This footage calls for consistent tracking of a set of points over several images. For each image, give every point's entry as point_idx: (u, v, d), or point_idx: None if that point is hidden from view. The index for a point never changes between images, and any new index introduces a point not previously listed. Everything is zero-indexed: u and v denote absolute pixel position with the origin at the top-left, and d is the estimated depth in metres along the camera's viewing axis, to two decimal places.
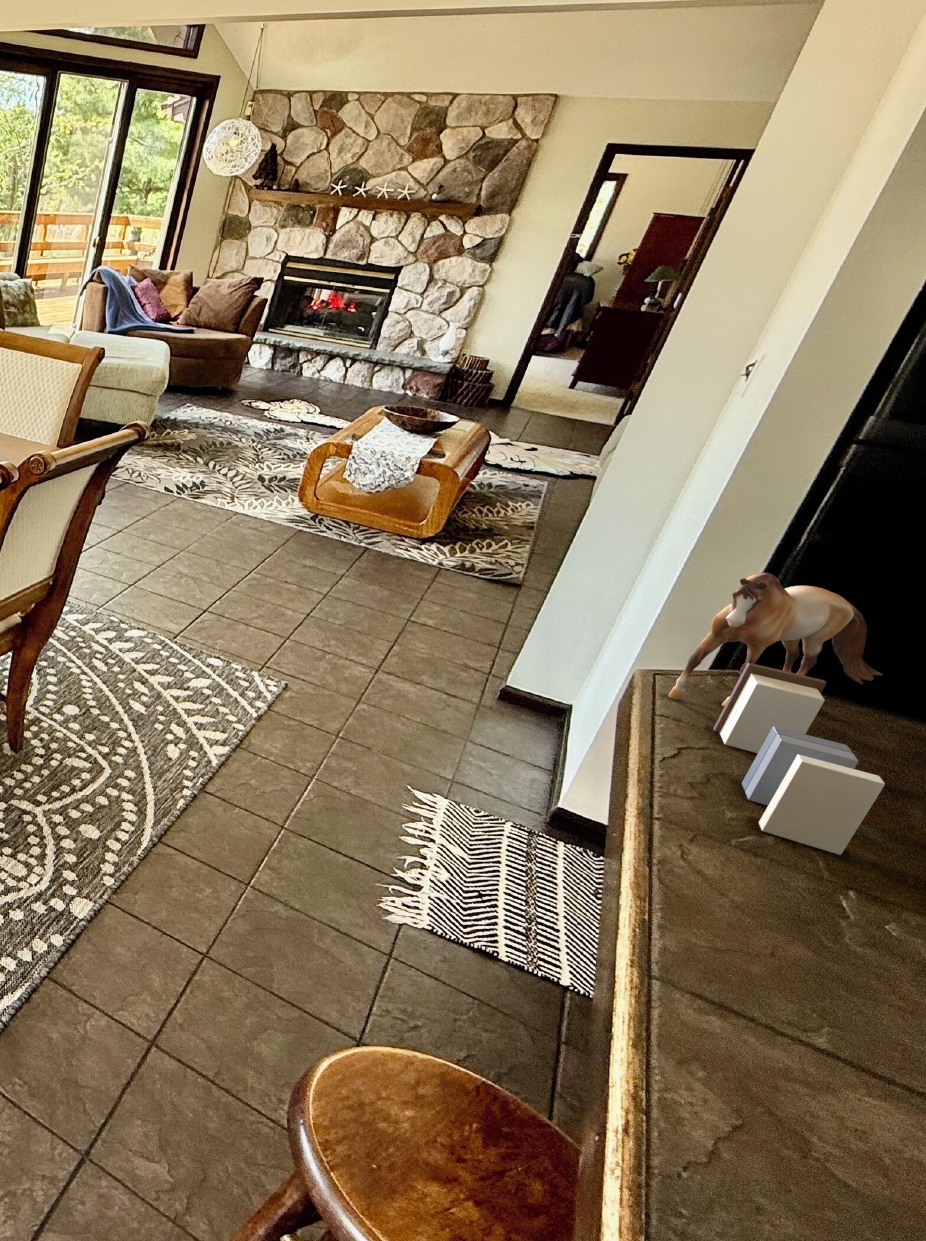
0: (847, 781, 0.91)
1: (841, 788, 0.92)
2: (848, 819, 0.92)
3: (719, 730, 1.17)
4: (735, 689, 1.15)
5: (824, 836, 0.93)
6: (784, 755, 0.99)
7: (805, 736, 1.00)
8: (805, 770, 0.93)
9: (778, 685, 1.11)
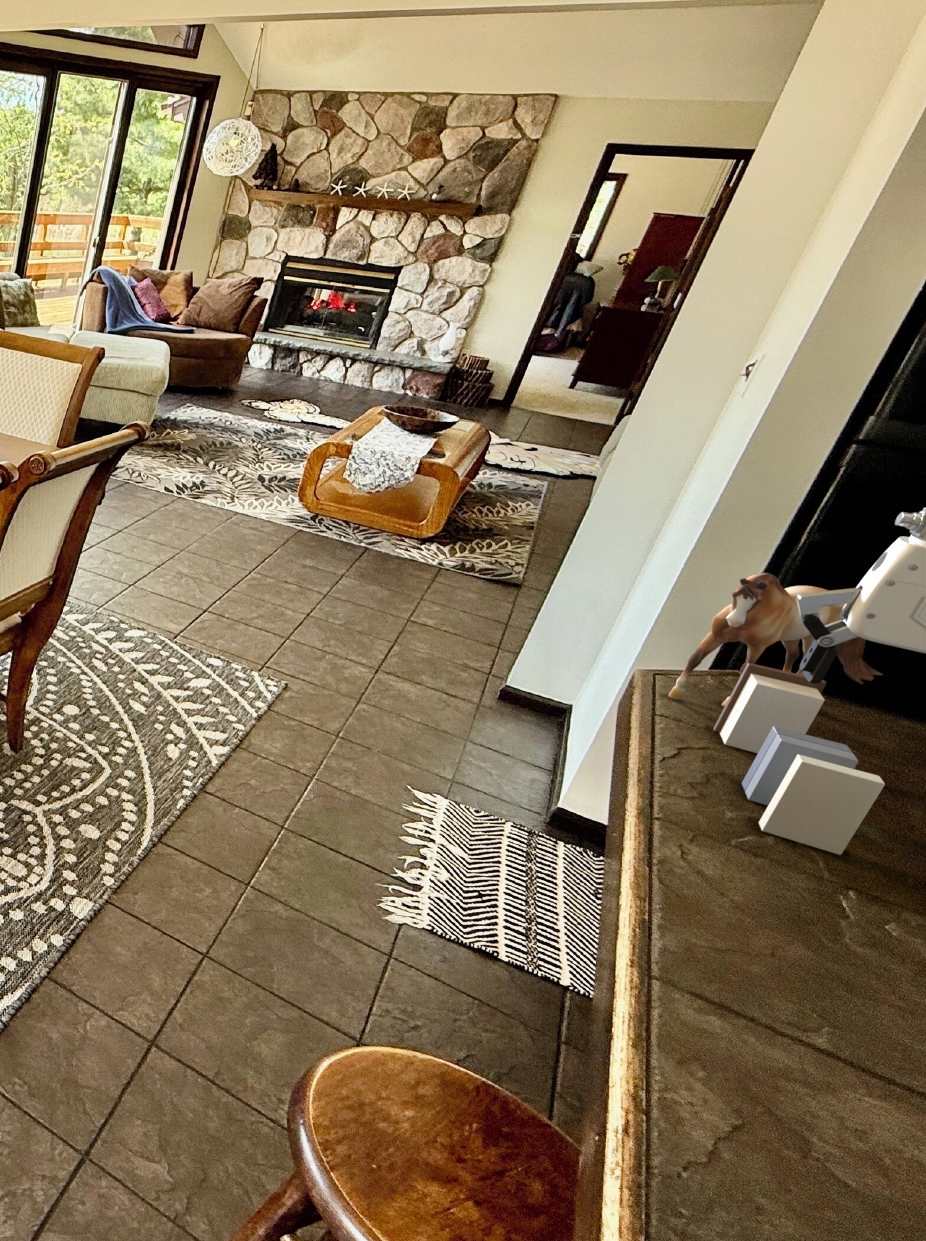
0: (847, 781, 0.91)
1: (841, 788, 0.92)
2: (848, 819, 0.92)
3: (719, 730, 1.17)
4: (735, 689, 1.15)
5: (824, 836, 0.93)
6: (784, 755, 0.99)
7: (805, 736, 1.00)
8: (805, 770, 0.93)
9: (778, 685, 1.11)
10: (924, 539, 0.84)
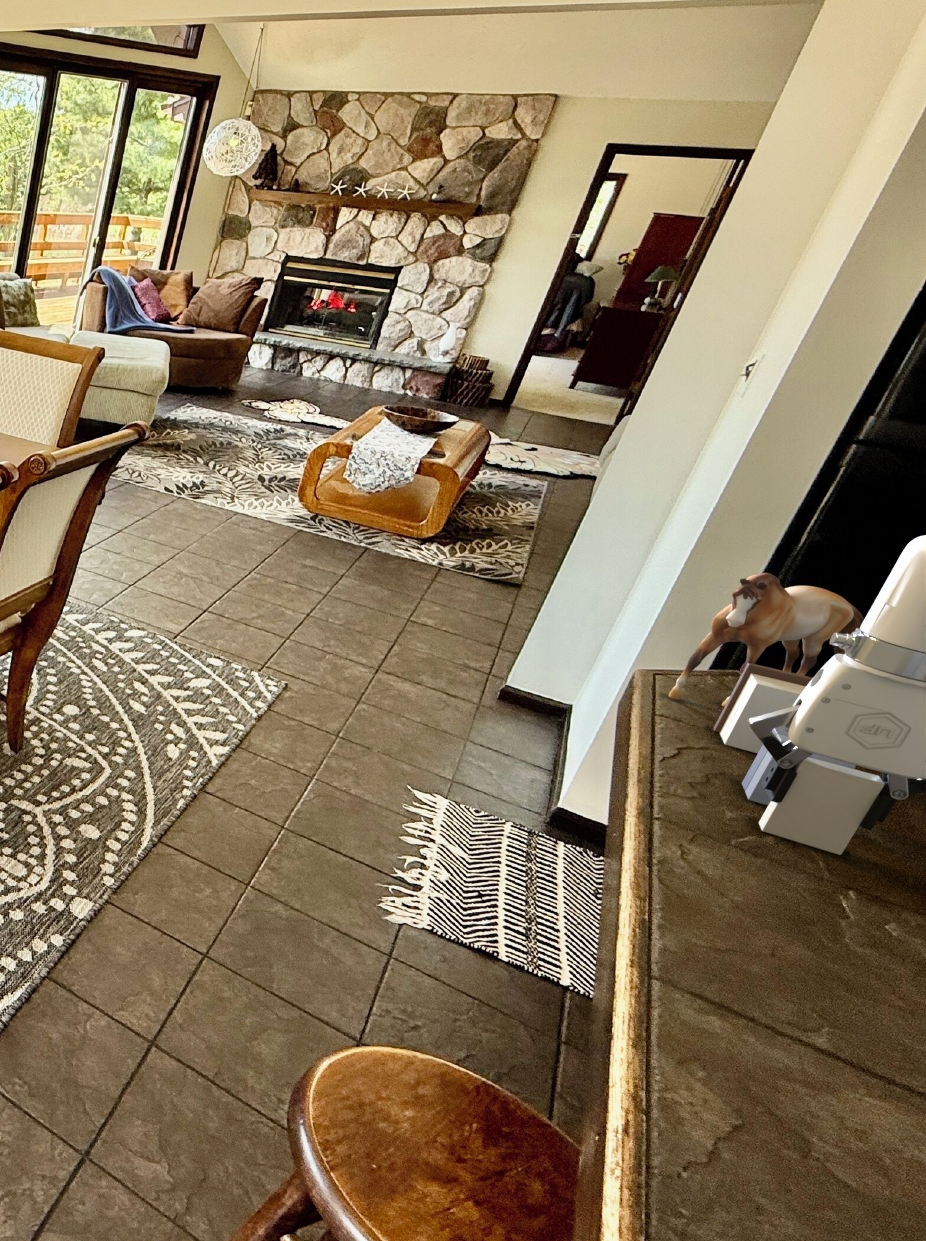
0: (847, 781, 0.91)
1: (841, 788, 0.92)
2: (848, 819, 0.92)
3: (719, 730, 1.17)
4: (735, 689, 1.15)
5: (824, 836, 0.93)
6: None
7: None
8: (805, 770, 0.93)
9: (778, 685, 1.11)
10: (856, 660, 0.88)
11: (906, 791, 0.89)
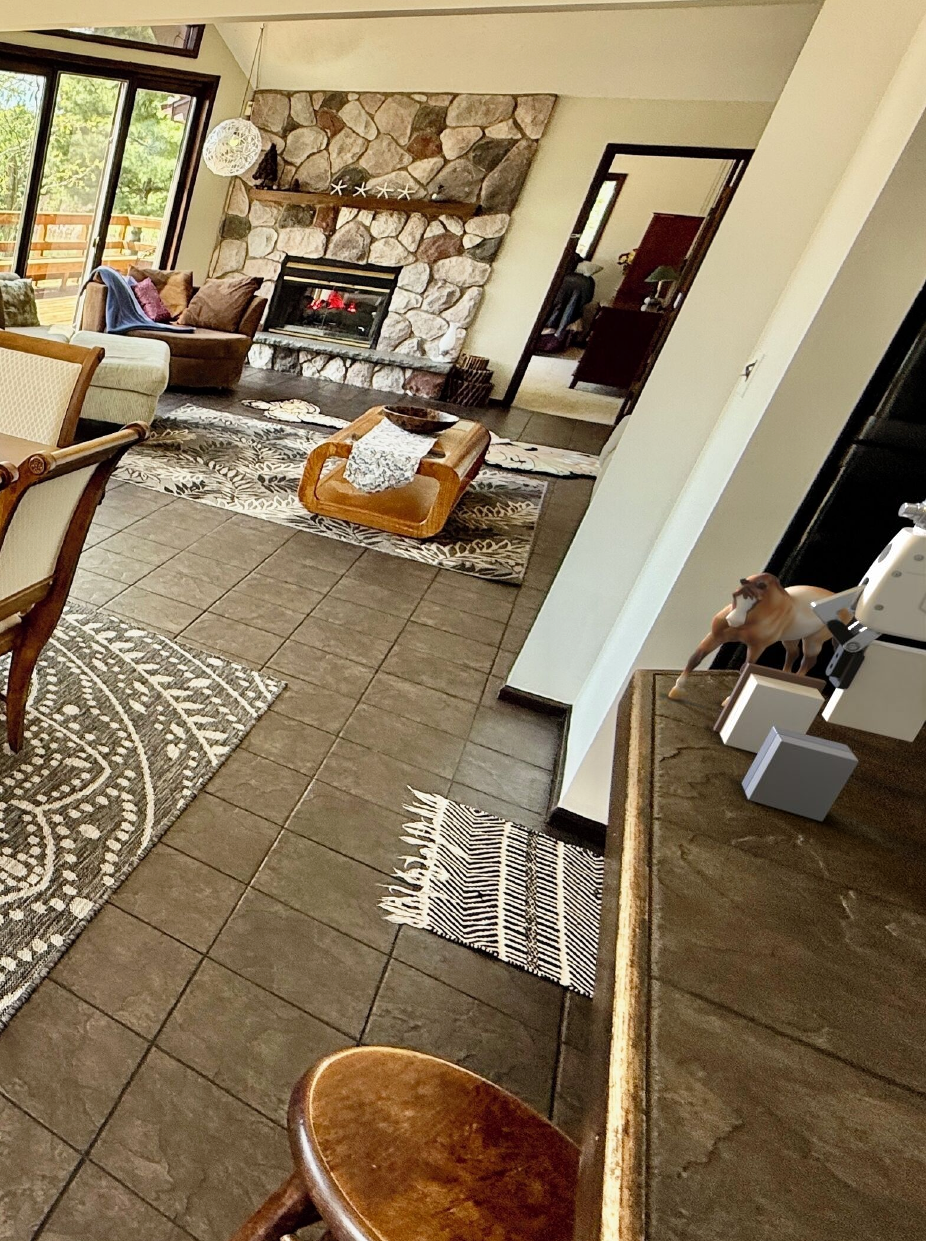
0: (918, 662, 0.87)
1: (912, 670, 0.87)
2: (920, 703, 0.87)
3: (719, 730, 1.17)
4: (735, 689, 1.15)
5: (894, 723, 0.89)
6: (784, 755, 0.99)
7: (805, 736, 1.00)
8: (873, 653, 0.88)
9: (778, 685, 1.11)
10: None
11: None
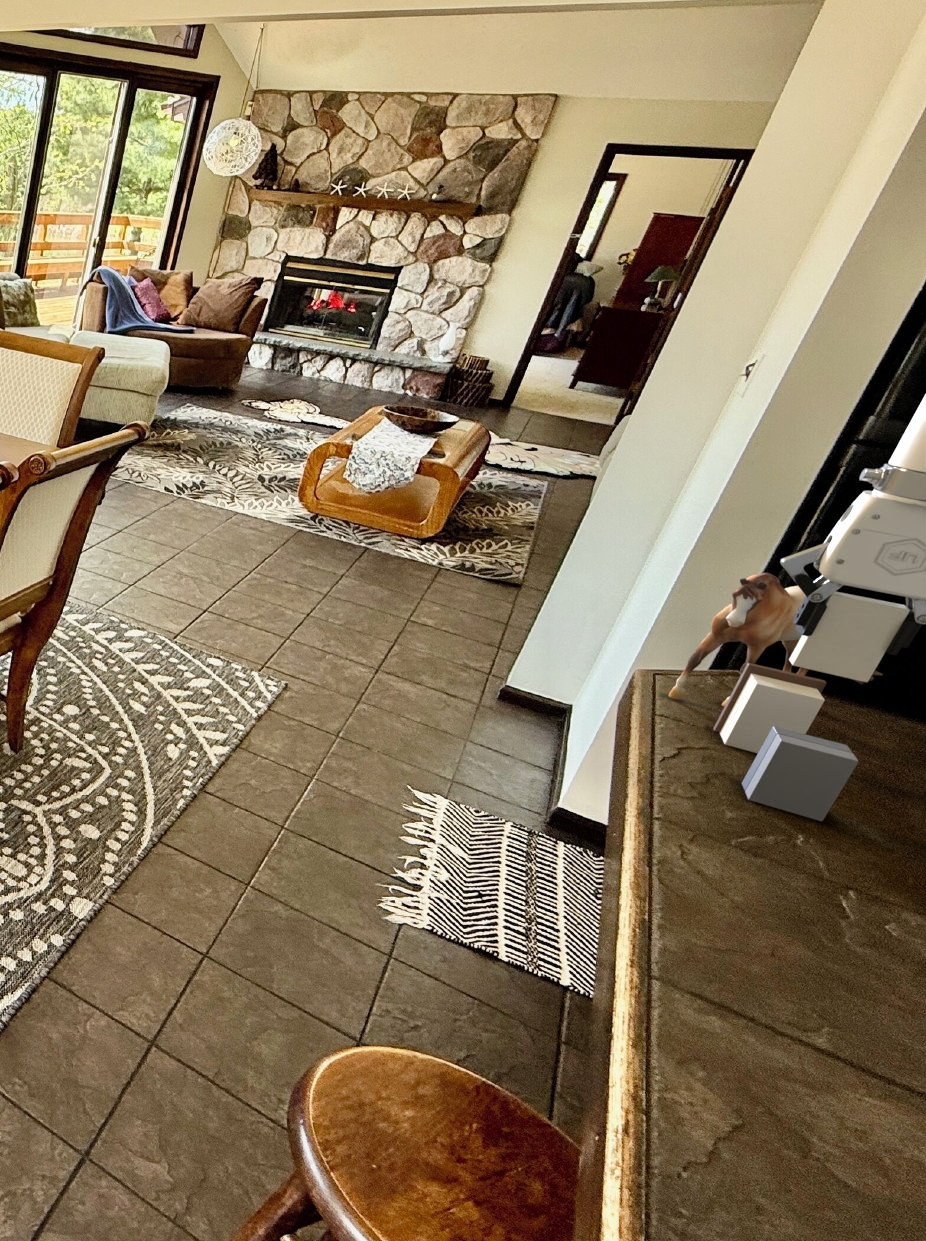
0: (874, 610, 0.97)
1: (868, 618, 0.98)
2: (875, 647, 0.98)
3: (719, 730, 1.17)
4: (735, 689, 1.15)
5: (852, 665, 1.00)
6: (784, 755, 0.99)
7: (805, 736, 1.00)
8: (834, 603, 0.99)
9: (778, 685, 1.11)
10: (885, 491, 0.94)
11: None
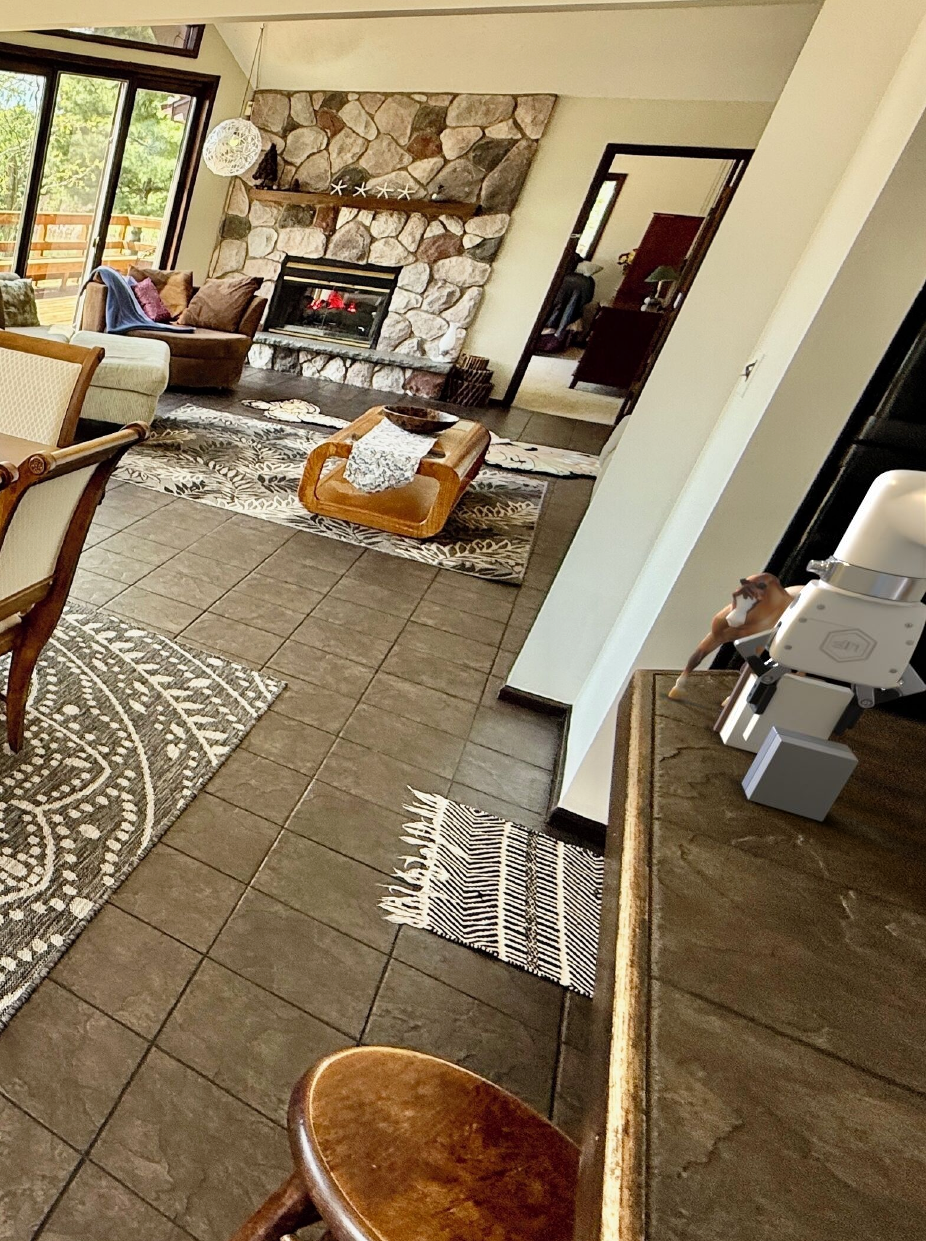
0: (821, 693, 1.03)
1: (815, 700, 1.03)
2: (821, 727, 1.03)
3: (719, 730, 1.17)
4: (735, 689, 1.15)
5: None
6: (784, 755, 0.99)
7: (805, 736, 1.00)
8: (784, 685, 1.04)
9: None
10: (829, 583, 1.00)
11: (872, 700, 1.00)
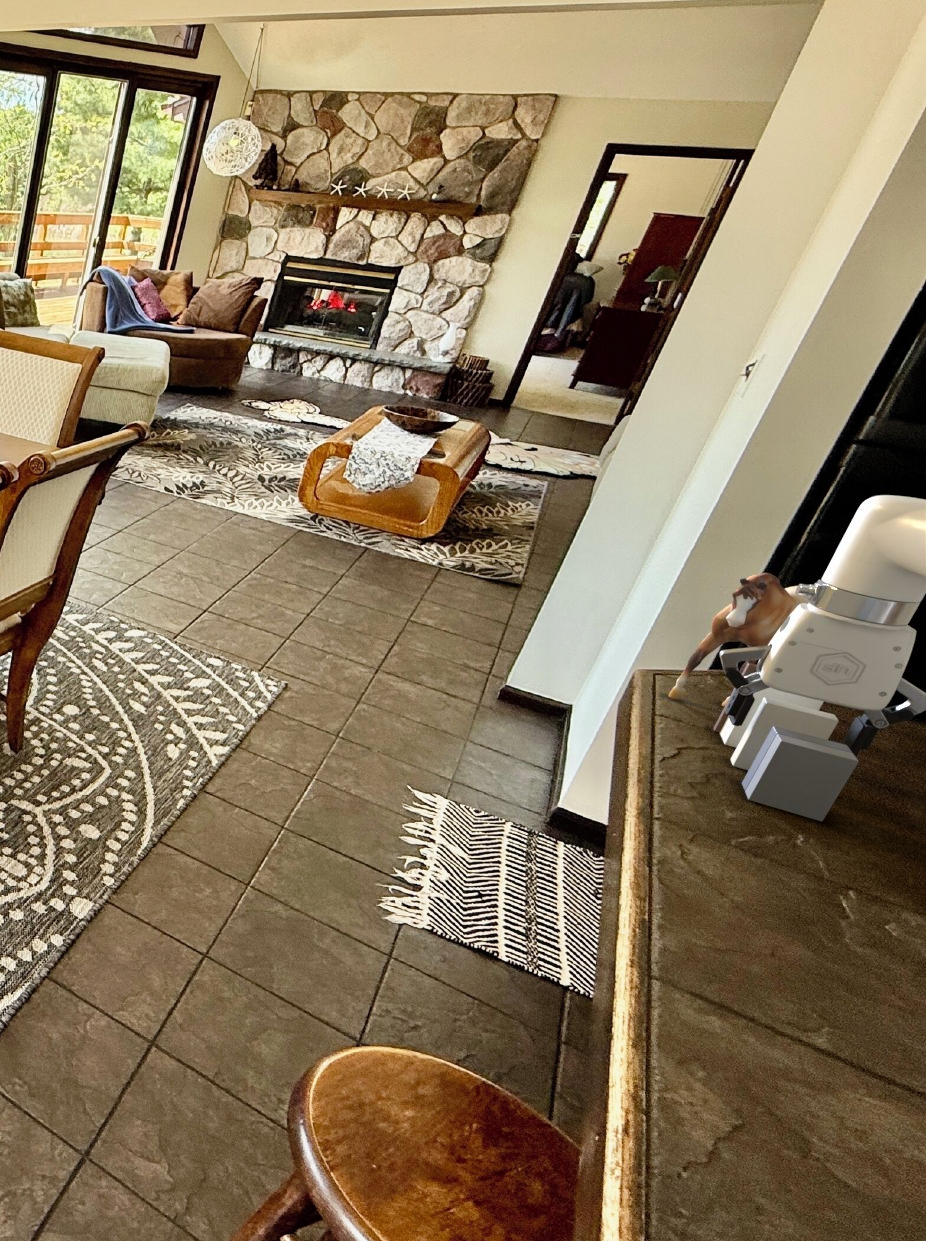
0: (806, 719, 1.04)
1: (801, 726, 1.04)
2: None
3: (719, 730, 1.17)
4: (735, 689, 1.15)
5: None
6: (784, 755, 0.99)
7: (805, 736, 1.00)
8: (769, 711, 1.06)
9: None
10: (818, 607, 1.01)
11: (884, 719, 1.00)
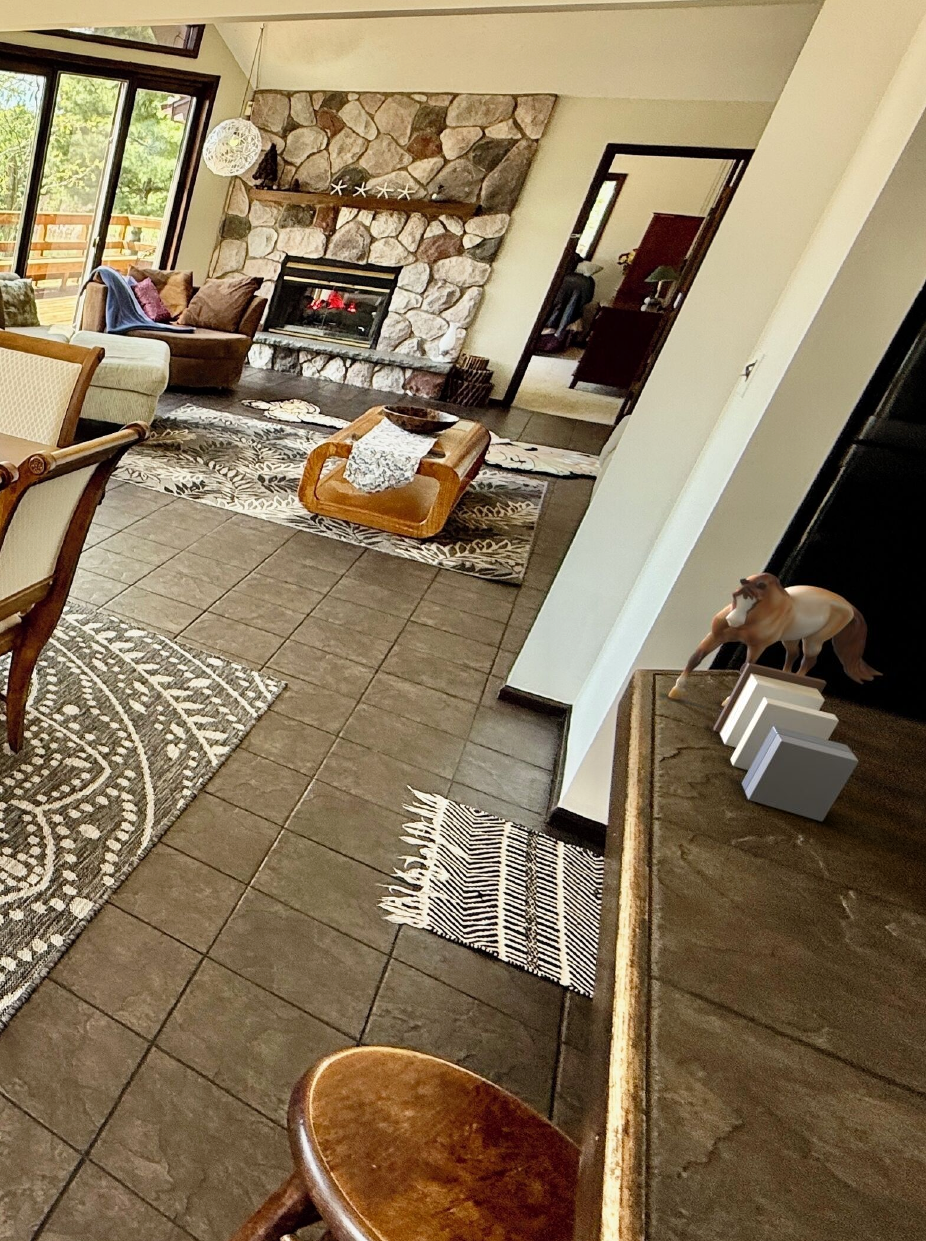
0: (806, 719, 1.04)
1: (801, 726, 1.04)
2: None
3: (719, 730, 1.17)
4: (735, 689, 1.15)
5: None
6: (784, 755, 0.99)
7: (805, 736, 1.00)
8: (770, 711, 1.06)
9: (778, 685, 1.11)
10: None
11: None
